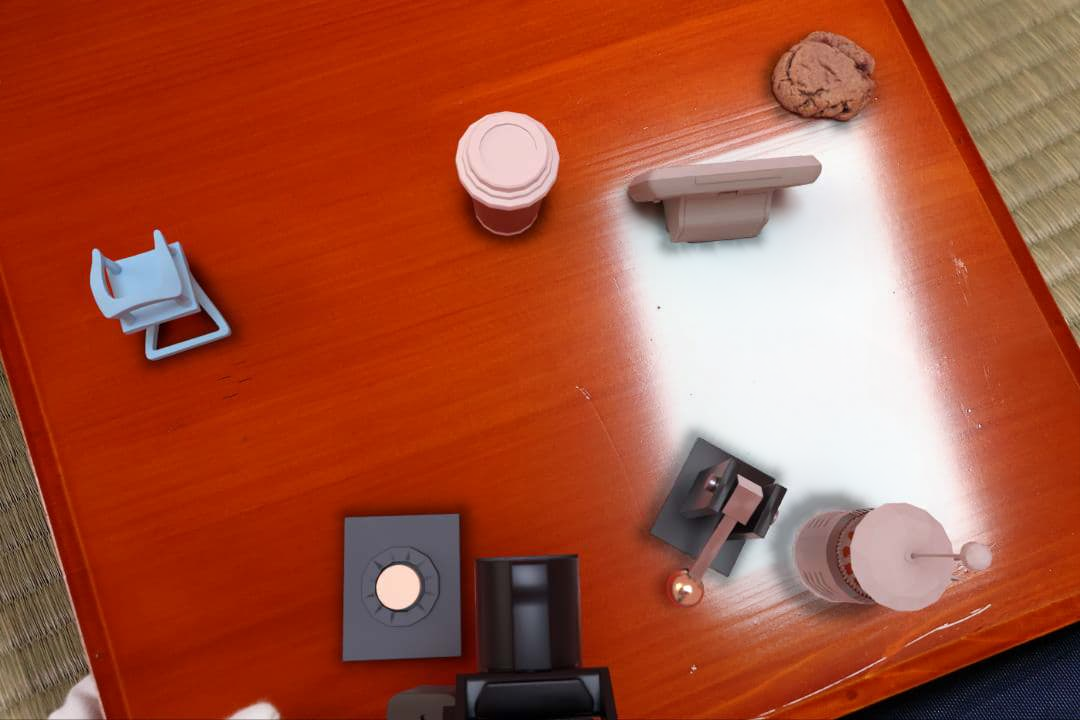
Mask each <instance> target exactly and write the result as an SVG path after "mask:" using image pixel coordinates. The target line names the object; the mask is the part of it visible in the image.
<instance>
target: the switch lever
mask: <svg viewBox="0 0 1080 720" xmlns="http://www.w3.org/2000/svg"><path fill="white" fill-rule="evenodd" d="M762 499H763V493H762V489H761V487H760V486H758V485H756V484H755V483H753V482H751V481H749V480H747V479H746V478H744V477H742V476H740V475H737V477H736V479H735V481H734V483H733V485H732V487H731V489H730V491H729V493H728V495H727V497H726V499H725V501H724V503H723V505H722V507H721V512H722V513H723V515H722V516H721V518H720V519H719V521H718V523H717V524H716V526H715V527H714V529H713V531H712V532H711V534H710V535H709V537H708V539H707V540H706V542H705V543H704V545H703V547H702V548H701V550H700V552H699V553H698V555H697V556H696V558H695V559H694V560H693V561H692V563H691V565H690V566H689V567H687V568H686V567H685V568H679V569H677V570H675V571H673V572H672V573H671V574H670V575H669V577H668V579H667V581H666V593H667V596H668V599H669V600H670V601H671V602H672V603H673V604H674V605H675V606H677V607H680V608H683V609H691V608H694V607H695V608H696V607H697V606H698V605H699V604H701V602H702V601H703V600H704V599H705V595H706V590H707V589H706V588H707V587H706V583H705V580H704V579H703V577H704V576H705V574H706V572H707V570H709V568H710V567H709V566H710V564H711V563H712V561H713V559H714V558H715V556H716V555H717V553H718V551H719V550H720V548H721V547H722V545H723V543H724V542H725V540H726V539H727V537H728V535H729V534H730V532H731V531H732V529H733V528H734V526H735V524H736V523H737V521H738V522H740V523H742V524H744V525H746V524H747V522H748V521H749V519H750V517H751V516H752V514H753V513H754V511H755V510H756V508H757V506H758V505H759V503H760V502H761V500H762Z"/></svg>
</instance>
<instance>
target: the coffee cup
mask: <svg viewBox="0 0 1080 720" xmlns="http://www.w3.org/2000/svg"><path fill="white" fill-rule="evenodd" d="M560 159H561V158H560V154H559V150H558V146H557V142H556V139H555V138H554V137H553V135H552V134H551V133H550V132H549V131H548V129H547V128H546V126H545V125H544V124H543V123H541V122H540V121H538V120H536V119H534V118H532V117H531V116H530V115H528V114H526V113H519V112H514V111H507V110H505V111H500V112H494V113H490V114H486V115H484V116H483V117H482V118H480V119H478V120H477V121H475V122H473V123H472V124H469V126H468V128H467V129H466V131H465V132H464V133H463V135H462V136H461V137H460V139H459V141H458V144H457V150H456V154H455V166H456V170H457V175H458V180H459V182H460V184H461V185H462V186H463V187H464V189H465V190H466V192H467V193H468V194H469V196H470V197H471V200H472V203H473V208H474V212H475V216H476V218H477V220H478V221H479V223H480V224H481V225H482V226H483V228H485V229H486V230H487V231H490V232H491V233H493V234H495V235H501V236H506V237H509V236H513V235H517V234H521V233H523V232H525V231H526V230H527V229H529V228H530V227H532V225H533V223H534V222H535V220H536V219H537V218H538V215H539V210H540V208H541V205H542V201H543V199H544V197H546V196H547V194H548V193H549V191H550V190H551V188H552V187H553V186H554V184H555V183H556V181H557V178H558V171H559V166H560Z"/></svg>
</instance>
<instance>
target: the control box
mask: <svg viewBox="0 0 1080 720" xmlns="http://www.w3.org/2000/svg"><path fill="white" fill-rule="evenodd" d="M343 538H344V542H343V545H344V546H343V601H342V603H343V607H342V609H343V610H342V611H343V612H342V662H356V661H357V662H358V661H383V660H384V661H385V660H405V659H407V660H408V659H432V658H453V657H454V658H455V657H461V656H462V654H463V635H462V631H463V627H462V626H463V625H462V623H463V622H462V560H461V514H460V513H432V514H431V513H430V514H405V515H373V516H372V515H371V516H345V517H344V537H343ZM394 565H407V566H410V567H412V568H413V569H414V570H415V571H416V572H417V573H418V574H419V576H420V579H421V583H422V589H421V593H420V595H419V597H418V599H417V600H416V601H415V602H414V603H413V604H412V605H410V606H409V607H407V608H404V609H399V610H395V609H391V608H388V607H387V606H385V605H384V604H383V603H382V602H381V601H380V599H379V597H378V595H377V589H376V587H377V581H378V579H379V577H380V575H381V574H382V572H383V571H384V570H386V569H387V568H389V567H391V566H394Z"/></svg>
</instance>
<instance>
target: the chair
mask: <svg viewBox="0 0 1080 720" xmlns="http://www.w3.org/2000/svg"><path fill="white" fill-rule="evenodd" d="M153 239H154V240H153V241H154V249H152V250H148V251H146V252H142V253H139V254H136V255H132V256H128V257H126V258H122V259H118V260H115V261H113V260H112V259H110V258H108V257H106V256H104V255H103V253H102V252H101V251H100V250H99V249H98V248H94V249H92V252H91V253H92V255H91V257H92V260H91V261H92V263H91V267H90V274H89V275H90V277H89V284H90V288H91V292H92V295H93V298H94V300H95V302H96V304H97V306H98V308H99V310H100V311H101V313H102V315H103V316H104V317H105V318H107V319H115V320H119V321H120V326H121V329H122V333H124V334H125V335H127V336H128V335H131V334H134V333H137V332H138V333H139V332H140V331H143V330H146V331H145V332H146V333H145V356H146V358H147V359H148V360H150V361H158V360H162V359H165V358H168V357H171V356H174V355H177V354H180V353H183V352H185V351H188V350H192V349H194V348H198V347H201V346H204V345H207V344H210V343H213V342H216V341H219V340H222V339H225V338H228V337H230V336H231V335H232V330H231V327H230V325H229V323H228V322H227V320H226V319H225V318H224V316H223V315H222V313H221V312H220V310H218V308H217V306H215V304H214V303H213V301H212V300H211V299H210V298H209V297H208V295H207V294H206V292H205V291H204V290H203V289H202V287H201V286H200V284H199V283H198V282H197V280H196V279H195V277H194V275H193V274H192V271H190V266H189V263H188V260H187V257H186V254H185V252H184V249H183V245H182V243H180V242H179V241H176V242H172V243H170V244H168V241H167V239H166V237H165V236H164V234H163V233H162V232H161V231H160V230H159V229H155V230H154V231H153ZM105 269H106V272H105ZM105 273H107V277H108V280H109V284H110V287H111V290H112V294H113V296H112V294H111V292H110V290H109V288H108V284H107V280H106V275H105ZM201 307H202V308H203V310H205V312H206V313H207V315H209V316H210V318H211V319H212V320H213V321H214V322H215V324H216V325H217V326H218V328H219V329H218V330H216V331H214V332H211V333H207V334H204V335H201V336H197V337H195V338H191V339H188V340H185V341H182V342H178V343H175V344H171V345H169V346H165V347H163V348H159V349H157V347H158V345H157V344H158V337H159V329H160V324H163V323H166V322H170V321H172V320H176V319H180V318H183V317H187V316H190V315H194V314H197V313H200V312H202V310H201Z"/></svg>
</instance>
